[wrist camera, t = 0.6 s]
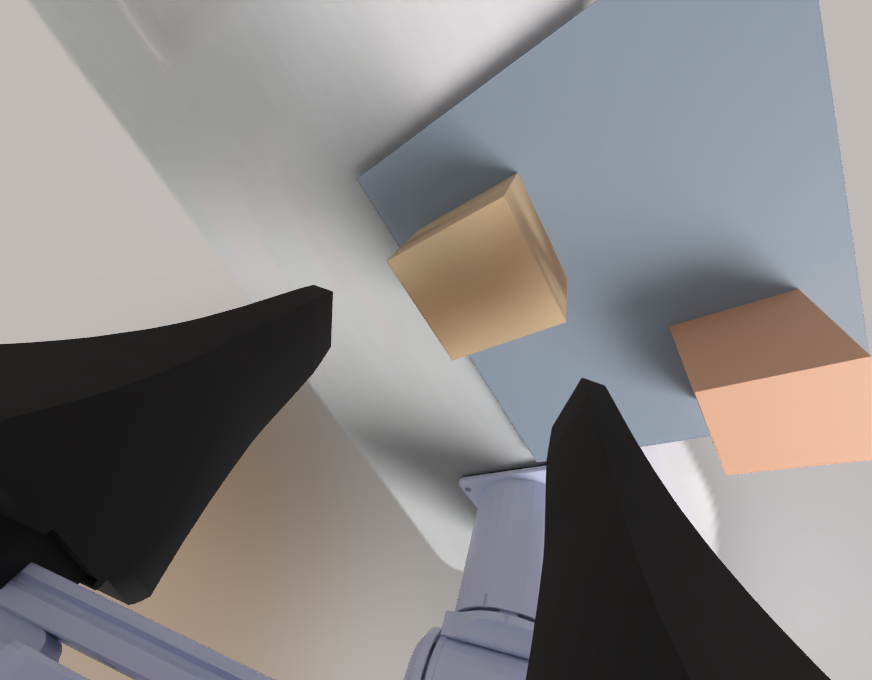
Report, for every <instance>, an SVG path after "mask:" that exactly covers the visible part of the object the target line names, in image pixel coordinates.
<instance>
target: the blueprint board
mask: <svg viewBox="0 0 872 680" xmlns="http://www.w3.org/2000/svg"><path fill="white" fill-rule="evenodd" d="M517 172H518V174H519V176H520V178H521V180H522V183H523V185H524V187H525V189H526V191H527V193H528V195H529V197H530V200H531V202H532V204H533V206H534V208H535V210H536V212H537V215H538V217H539V219H540V221H541V223H542V225H543V227H544V229H545V232H546V234H547V236H548V238H549V240H550V242H551V244H552V246H553V249H554V251H555V253H556V255H557V257H558V259H559V261H560V264H561V266H562V268H563V270H564V272H565V274H566V276H567V311H566V322H565V323H562V324H559V325H556V326H553V327H550V328H547V329H544V330H541V331H538V332H535V333H532V334H529V335H526V336H523V337H520V338H517V339H514V340H512V341H509V342H506V343H503V344H500V345H497V346H494V347H491V348H488V349H485V350H482V351H479V352H476V353H473V354H470V355H469V357H470V358H471V360H472V361H473V363H474V365H475V366H476V368H477V369H478V371H479V372H480V374H481V376H482V377H483V379H484V380H485V382H486V383H487V385H488V387H489V388H490V390H491V391H492V393H493V394H494V396H495V398H496V399H497V401H498V402H499V404H500V406H501V407H502V409H503V410H504V412H505V413H506V415H507V417H508V418H509V420H510V421H511V423H512V424H513V426H514V428H515V429H516V431H517V432H518V434H519V435H520V437H521V439H522V440H523V442H524V443H525V445H526V446H527V448H528V450H529V451H530V453H531V454H532V456H533V457H534V459H535V461H536V462H543V461H546V460H547V454H548V447H549V441H550V435H551V429H552V426H553V424H554V423H555V421H556V419H557V418H558V416H559V415H560V413H561V411H562V410H563V408H564V406H565V405H566V403H567V401H568V400H569V398H570V396H571V395H572V393H573V391H574V390H575V388H576V386H577V385H578V383H579V381H580V380H581V378H585V379H588V380H591V381H594V382H597V383H599V384H602V385H605V386H606V388H607V390H608V391H609V393H610V395H611V397H612V399H613V400H614V402H615V404H616V406H617V408H618V409H619V411H620V413H621V415H622V417H623V418H624V420H625V422H626V424H627V426H628V427H629V429H630V431H631V433H632V434H633V436H634V438H635V440H636V441H637V443H638V445H639V446H640V447H643V446H649V445H656V444H663V443H669V442H676V441H682V440H689V439H695V438H702V437H709V436H710V433H709V431H708V428H707V426H706V423H705V420H704V418H703V415H702V413H701V410H700V408H699V405H698V402H697V400H696V397H695V395H694V392H693V389H692V387H691V384H690V381H689V379H688V376H687V373H686V371H685V368H684V365H683V363H682V360H681V357H680V355H679V352H678V349H677V347H676V344H675V341H674V339H673V336H672V333H671V331H670V328H669V326H673V325H676V324H680V323H683V322H686V321H690V320H693V319H697V318H700V317H704V316H707V315H711V314H714V313H718V312H721V311H724V310H728V309H731V308H735V307H738V306H742V305H745V304H749V303H752V302H755V301H759V300H762V299H766V298H769V297H773V296H776V295H780V294H783V293H787V292H790V291H793V290H797V289H799V290H800V291H801V292H803V293H804V294H805V295H806V296H807V297H808V298H809V299H810V300H811V301H812V302H813V303H814V304H815V305H817V306H818V307H819V308H820V309H821V310H822V311H823V312H824V313H825V314H826V315H827V316H828V317H829V318H831V319H832V320H833V321H834V322H835V323H836V324H837V325H838V326H839V327H840V328H841V329H842V330H843V331H845V332H846V333H847V334H848V335H849V336H850V337H851V338H852V339H853V340H854V341H855V342H856V343H857V344H859V345H860V346H861V347H862V348H863V349H864V350H865V351H866V352H867V353H868V354H869V349H868V343H867V336H866V328H865V321H864V314H863V308H862V300H861V293H860V286H859V279H858V272H857V265H856V259H855V251H854V244H853V237H852V230H851V224H850V216H849V209H848V202H847V195H846V188H845V181H844V174H843V167H842V160H841V153H840V146H839V139H838V132H837V125H836V118H835V111H834V104H833V97H832V90H831V84H830V76H829V69H828V62H827V55H826V48H825V41H824V34H823V27H822V20H821V13H820V6H819V0H597V1H595V2H594V3H593V4H591V5H590V6H589V7H587V8H586V9H585V10H583V11H582V12H581V13H579V14H578V15H577V16H575V17H574V18H573V19H571V20H570V21H568V22H567V23H566V24H564V25H563V26H562V27H560V28H559V29H558V30H556V31H555V32H554V33H552V34H551V35H550V36H548V37H547V38H546V39H544V40H543V41H542V42H540V43H539V44H538V45H536V46H535V47H533V48H532V49H531V50H529V51H528V52H527V53H525V54H524V55H523V56H521V57H520V58H519V59H517V60H516V61H515V62H513V63H512V64H511V65H509V66H508V67H507V68H505V69H504V70H503V71H501V72H500V73H499V74H497V75H496V76H494V77H493V78H492V79H490V80H489V81H488V82H486V83H485V84H484V85H482V86H481V87H480V88H478V89H477V90H476V91H474V92H473V93H472V94H470V95H469V96H468V97H466V98H465V99H464V100H462V101H461V102H460V103H458V104H457V105H455V106H454V107H453V108H451V109H450V110H449V111H447V112H446V113H445V114H443V115H442V116H441V117H439V118H438V119H437V120H435V121H434V122H433V123H431V124H430V125H429V126H427V127H426V128H425V129H423V130H422V131H421V132H419V133H418V134H416V135H415V136H414V137H412V138H411V139H410V140H408V141H407V142H406V143H404V144H403V145H402V146H400V147H399V148H398V149H396V150H395V151H394V152H392V153H391V154H390V155H388V156H387V157H386V158H384V159H383V160H382V161H380V162H379V163H377V164H376V165H375V166H373V167H372V168H371V169H369V170H368V171H367V172H365V173H364V174H363V175H361V176H360V177H359V178H357V180H358V182H359V184H360V185H361V187H362V188H363V190H364V191H365V193H366V195H367V196H368V198H369V199H370V201H371V202H372V204H373V206H374V207H375V209H376V210H377V212H378V213H379V215H380V217H381V218H382V220H383V221H384V223H385V224H386V226H387V228H388V229H389V231H390V232H391V234H392V235H393V237H394V239H395V240H396V242H397V243H398V245H399V247H402V246H403V245H404V244H405V243H406V242H407V241H408V240H409V239H410V238H411V237H412V236H413V235H414V234H415V233H416V232H417V231H418V230H419V229H421V228H422V227H424V226H426V225H427V224H429V223H431V222H433V221H434V220H436V219H438V218H440V217H441V216H443V215H445V214H446V213H448V212H450V211H452V210H453V209H455V208H457V207H459V206H460V205H462V204H464V203H465V202H467V201H469V200H471V199H472V198H474V197H476V196H478V195H479V194H481V193H483V192H484V191H486V190H488V189H490V188H491V187H493V186H495V185H497V184H498V183H500V182H502V181H503V180H505V179H507V178H509V177H510V176H512V175H514V174H516V173H517Z"/></svg>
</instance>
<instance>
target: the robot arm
mask: <svg viewBox="0 0 872 680" xmlns="http://www.w3.org/2000/svg"><path fill="white" fill-rule="evenodd" d="M332 301H333V292H332V291H330V290H327V289H324V288H321V287H318V286H315V285H312V286H308V287H304V288H300V289H297V290H294V291H290V292H287V293H284V294H281V295H278V296H275V297H272V298H268V299H265V300H262V301H259V302H256V303H253V304H249V305H247V306H243V307H240V308H236V309H232V310H229V311H225V312H222V313H218V314H214V315H211V316H207V317H204V318H199V319H195V320H191V321H187V322H182V323H178V324H172V325H168V326H162V327H157V328H152V329H146V330H139V331H132V332H125V333H118V334H111V335H104V336H98V337H90V338H79V339H69V340H58V341H45V342H33V343H16V344H0V680H89V679H87V678H85V677H83V676H81V675H79V674H78V673H76V672H74V671H72V670H70V669H68V668H66V667H65V666H63V665H61V664H59V663H58V662H59V658H60V656H61V653H62V644H61V643H64V644H65V645H67V646H69V647H71V648H73V649H75V650H77V651H79V652H81V653H83V654H85V655H87V656H89V657H91V658H93V659H95V660H97V661H99V662H101V663H103V664H105V665H107V666H109V667H111V668H113V669H115V670H116V671H118V672H120V673H122V674H124V675H126V676H128V677H130V678H132V679H134V680H275V679H272V678H270V677H268V676H266V675H264V674H262V673H260V672H258V671H256V670H254V669H251V668H250V667H247V666H246V665H243V664H241V663H239V662H237V661H235V660H233V659H231V658H229V657H227V656H225V655H223V654H220V653H218V652H217V651H215V650H212V649H210V648H208V647H206V646H204V645H202V644H200V643H198V642H196V641H194V640H192V639H190V638H187V637H186V636H183V635H181V634H179V633H177V632H175V631H173V630H171V629H169V628H167V627H165V626H163V625H161V624H159V623H157V622H154V621H153V620H150V619H148V618H146V617H144V616H142V615H140V614H138V613H136V612H134V611H132V610H130V609H128V608H125V607H123V606H121V605H119V604H117V603H115V602H113V601H111V600H109V599H107V598H105V597H103V596H101V595H99V594H97V593H95V592H92V591H90V590H88V589H86V588H84V587H82V586H80V585H78V584H79V583H81V584H83V585H86V586H87V587H89V588H92V589H94V590H99V591H101V592H103V593H105V594H107V595H109V596H111V597H113V598H116V599H117V600H120V601H122V602H124V603H126V604H128V605H130V604H135V603H137V602H140V601H142V600H144V599H146V598H148V597H150V596H151V594H152V593H153V591H154V589H155V587H156V586H157V584H158V582H159V581H160V579H161V577H162V576H163V574H164V573H165V571H166V569H167V568H168V566H169V564H170V563H171V561H172V559H173V558H174V556H175V555H176V553H177V551H178V550H179V548H180V546H181V545H182V543H183V541H184V540H185V538H186V537H187V535H188V534H189V532H190V531H191V529H192V528H193V526H194V525H195V523H196V521H197V520H198V518H199V517H200V515H201V513H202V512H203V511H204V509H205V508H206V506H207V505H208V503H209V501H210V500H211V499H212V497H213V496H214V494H215V493H216V491H217V490H218V489H219V487H220V486H221V484H222V483H223V481H224V480H225V478H226V477H227V476H228V474H229V473H230V471H231V470H232V469H233V467H234V466H235V465H236V463H237V462H238V460H239V459H240V458H241V456H242V455H243V454H244V452H245V451H246V450H247V448H248V447H249V445H250V444H251V442H252V441H253V440H254V439H255V438H256V437H257V435H258V434H259V433H260V432H261V430H262V429H263V428H264V427H265V426H266V425H267V424H268V423H269V422H270V420H271V419H272V418H273V417H274V416H275V415H276V414H277V413H278V412H279V410H280V409H281V408H282V407H283V406H284V405H285V404H286V403H287V402H288V401H289V400H290V398H291V397H292V396H293V395H294V394H295V393H296V392H297V391H298V390H299V389H300V387H301V386H302V385H303V384H304V383H305V382H306V381H307V380H308V378H309V377H310V376H311V375H312V374H313V373H314V371H315V370H316V368H317V367H318V365H319V364H320V363H321V361H322V360H323V358H324V357H325V355H326V353H327V352H328V350H329V349H330V347H331V328H332ZM459 486H460V487H461V488H462V490H463V491H464V492H465V494H466V495H467V496H468V498H469V499H470V500H471V501H472V503H473V504H474V505H475V507H476V508H477V513H476V518H475V522H474V527H473V531H472V536H471V540H470V545H469V549H468V554H467V559H466V563H465V568H464V572H463V577H462V581H461V586H460V590H459V595H458V599H457V604H456V609H455V612H454V611H449V610H448V611H446V614H445V617H444V622H443V626H442V628H440V627H433V628H432V629H430V630H429V631H428V633H427V634H426V635H425V636H424V637H423V638H422V639H421V640H420V642H419V643H418V644H417V646H416V648H415V650H414V652H413V655H412V657H411V659H410V662H409V665H408V668H407V671H406V674H405V678H404V680H831V679H830V678H828V677H827V676H826V675H825V674H824V673H823V672H822V671H821V670H820V669H819V668H818V667H817V666H816V664H814V663H813V661H812V660H811V659H810V658H809V657H808V656H806V654H805V653H804V652H803V651H802V650H801V649H800V648H799V647H798V646H797V645H796V644H795V643H794V642H793V641H792V640H791V639H790V637H788V635H787V634H786V633H785V632H784V631H783V630H782V629H781V628H780V627H779V626H778V625H777V624H776V623H775V622H774V621H773V620H772V618H771V617H770V616H769V615H768V614H767V613H766V612H765V611H764V610H763V609H762V607H760V605H759V604H758V603H757V602H756V601H755V600H754V599H753V598H752V596H751V595H750V594H749V593H748V592H747V591H746V590H745V588H744V587H743V586H742V585H741V584H740V583H739V581H738V580H737V579H736V578H735V577H734V576H733V575H732V573H731V572H730V571H729V570H728V569H727V567H726V566H725V565H724V564H723V563H722V562H721V560H720V559H719V558H718V557H717V556H716V554H715V553H714V552H713V551H712V549H711V548H710V547H709V546H708V544H707V543H706V542H705V541H704V539H703V538H702V537H701V535H700V534H699V533H698V532H697V530H696V529H695V528H694V526H693V525H692V524H691V522H690V521H689V520H688V518H687V517H686V516H685V514H684V513H683V512H682V510H681V509H680V508H679V506H678V505H677V503H676V502H675V501H674V499H673V498H672V496H671V495H670V493H669V492H668V490H667V489H666V487H665V486H664V484H663V483H662V481H661V480H660V478H659V477H658V475H657V474H656V472H655V471H654V469H653V468H652V466H651V464H650V463H649V461H648V460H647V458H646V456H645V455H644V453H643V451H642V450H641V448H640V446H639V445H638V443H637V441H636V440H635V438H634V436H633V434H632V433H631V431H630V429H629V427H628V426H627V424H626V422H625V420H624V418H623V417H622V415H621V413H620V411H619V409H618V408H617V406H616V404H615V402H614V400H613V399H612V397H611V395H610V393H609V391H608V390H607V388H606V386H605V385H602V384H599V383H597V382H594V381H591V380H588V379H585V378H581V380H580V381H579V383H578V385H577V386H576V388H575V390H574V391H573V393H572V395H571V396H570V398H569V400H568V401H567V403H566V405H565V406H564V408H563V410H562V411H561V413H560V415H559V416H558V418H557V419H556V421H555V423H554V424H553V426H552V429H551V435H550V441H549V447H548V454H547V460H546V465H545V466H538V467H531V468H525V469H518V470H511V471H504V472H497V473H490V474H483V475H476V476H470V477H463V478H460V480H459ZM60 642H61V643H60Z"/></svg>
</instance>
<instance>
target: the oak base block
mask: <svg viewBox="0 0 872 680" xmlns="http://www.w3.org/2000/svg"><path fill="white" fill-rule="evenodd" d="M387 263H388V264H389V266H390V267H391V269H392V270H393V272H394V273H395V275H396V276H397V278H398V279H399V281H400V282H401V284H402V285H403V287H404V288H405V290H406V291H407V293H408V295H409V296H410V298H411V299H412V301H413V302H414V304H415V305H416V307H417V308H418V310H419V311H420V313H421V314H422V316H423V317H424V319H425V320H426V322H427V323H428V325H429V326H430V328H431V329H432V331H433V332H434V334H435V335H436V337H437V338H438V340H439V341H440V343H441V345H442V346H443V348H444V349H445V351H446V352H447V354H448V355H449V357H450V358H451V360H455V359H458V358H461V357H464V356H467V355H470V354H473V353H476V352H479V351H482V350H485V349H488V348H491V347H494V346H497V345H500V344H503V343H506V342H509V341H512V340H514V339H517V338H520V337H523V336H526V335H529V334H532V333H535V332H538V331H541V330H544V329H547V328H550V327H553V326H556V325H559V324H562V323H565V322H566V311H567V276H566V274H565V272H564V270H563V268H562V266H561V264H560V261H559V259H558V257H557V255H556V253H555V251H554V249H553V246H552V244H551V242H550V240H549V238H548V236H547V234H546V232H545V229H544V227H543V225H542V223H541V221H540V219H539V217H538V215H537V212H536V210H535V208H534V206H533V204H532V202H531V200H530V197H529V195H528V193H527V191H526V189H525V187H524V185H523V183H522V180H521V178H520V176H519V174H518V172H517V173H516V174H514V175H512V176H510V177H509V178H507V179H505V180H503V181H502V182H500V183H498V184H497V185H495V186H493V187H491V188H490V189H488V190H486V191H484V192H483V193H481V194H479V195H478V196H476V197H474V198H472V199H471V200H469V201H467V202H465V203H464V204H462V205H460V206H459V207H457V208H455V209H453V210H452V211H450V212H448V213H446V214H445V215H443V216H441V217H440V218H438V219H436V220H434V221H433V222H431V223H429V224H427V225H426V226H424V227H422V228H421V229H419V230H418V231H417V232H416V233H415V234H414V235H413V236H412V237H411V238H410V239H409V240H408V241H407V242H406V243H405V244H404V245H403V246H402V247H400V248H399V249H398V250H397V251H396V252H395V253H394V254H393V255H392V256H391V257H390V258H389V259H388V260H387Z"/></svg>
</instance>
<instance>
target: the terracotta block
mask: <svg viewBox="0 0 872 680" xmlns="http://www.w3.org/2000/svg"><path fill="white" fill-rule="evenodd" d="M669 328H670V331H671V333H672V336H673V339H674V341H675V344H676V347H677V349H678V352H679V355H680V357H681V360H682V363H683V365H684V368H685V371H686V373H687V376H688V379H689V381H690V384H691V387H692V389H693V392H694V395H695V397H696V400H697V402H698V405H699V408H700V410H701V413H702V415H703V418H704V420H705V423H706V426H707V428H708V431H709V433H710V436H711V438H712V441H713V444H714V446H715V448H716V451H717V454H718V457H719V459H720V461H721V464H722V467H723V469H724V472H725V474H726V475H733V474H742V473H752V472H762V471H771V470H781V469H790V468H800V467H809V466H818V465H827V464H838V463H847V462H857V461H866V460H872V358H871V356H870V355H869V354H868V353H867V352H866V351H865V350H864V349H863V348H862V347H861V346H860V345H859V344H857V343H856V342H855V341H854V340H853V339H852V338H851V337H850V336H849V335H848V334H847V333H846V332H845V331H843V330H842V329H841V328H840V327H839V326H838V325H837V324H836V323H835V322H834V321H833V320H832V319H831V318H829V317H828V316H827V315H826V314H825V313H824V312H823V311H822V310H821V309H820V308H819V307H818V306H817V305H815V304H814V303H813V302H812V301H811V300H810V299H809V298H808V297H807V296H806V295H805V294H804V293H803V292H801V291H800V290H799V289H797V290H793V291H790V292H787V293H783V294H780V295H776V296H773V297H769V298H766V299H762V300H759V301H755V302H752V303H749V304H745V305H742V306H738V307H735V308H731V309H728V310H724V311H721V312H718V313H714V314H711V315H707V316H704V317H700V318H697V319H693V320H690V321H686V322H683V323H680V324H676V325H673V326H669Z"/></svg>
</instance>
